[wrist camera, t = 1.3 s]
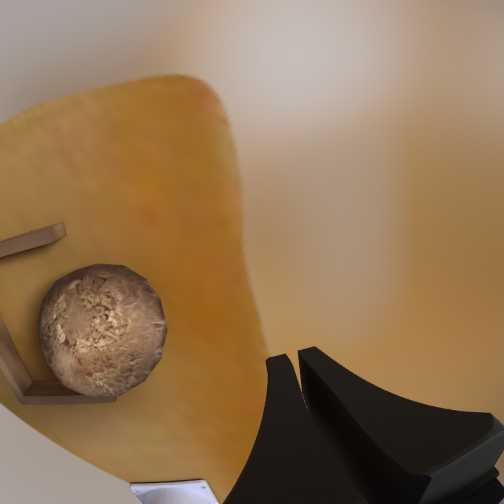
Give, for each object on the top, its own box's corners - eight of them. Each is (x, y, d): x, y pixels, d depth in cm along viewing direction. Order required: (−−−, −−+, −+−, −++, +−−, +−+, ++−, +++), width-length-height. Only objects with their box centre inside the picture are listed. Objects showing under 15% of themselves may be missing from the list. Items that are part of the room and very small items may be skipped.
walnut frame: (120, 384, 20) (115, 401, 18) (30, 389, 19) (21, 404, 17) (63, 221, 17) (49, 228, 15) (-28, 250, 16) (-44, 258, 14)
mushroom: (155, 416, 17) (109, 432, 12) (63, 361, 19) (4, 353, 13) (200, 304, 20) (171, 278, 14) (103, 263, 21) (56, 227, 15)
